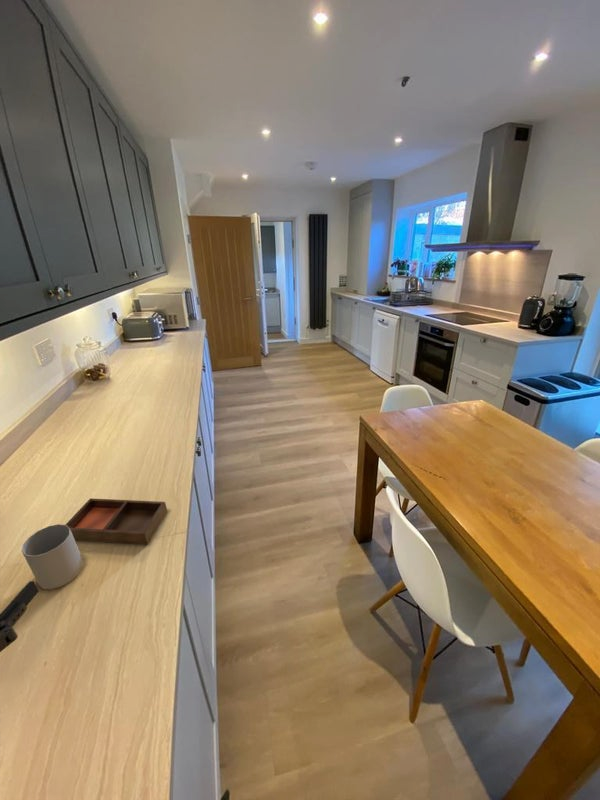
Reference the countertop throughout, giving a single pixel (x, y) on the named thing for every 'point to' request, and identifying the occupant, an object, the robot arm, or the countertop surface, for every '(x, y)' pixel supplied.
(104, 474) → the countertop surface
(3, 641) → the robot arm
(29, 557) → the cup
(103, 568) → the countertop surface
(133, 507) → the tray
